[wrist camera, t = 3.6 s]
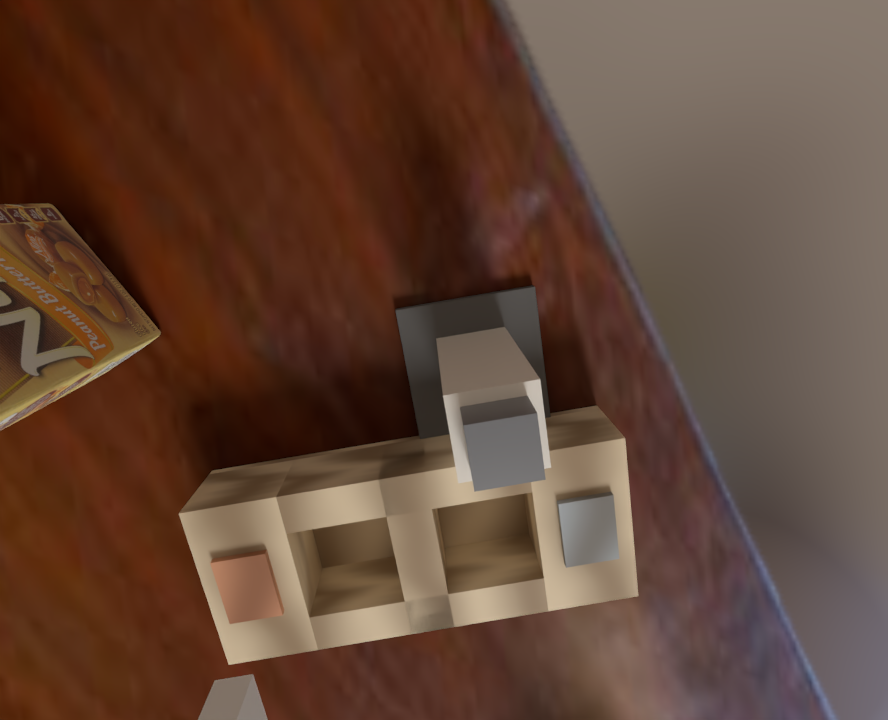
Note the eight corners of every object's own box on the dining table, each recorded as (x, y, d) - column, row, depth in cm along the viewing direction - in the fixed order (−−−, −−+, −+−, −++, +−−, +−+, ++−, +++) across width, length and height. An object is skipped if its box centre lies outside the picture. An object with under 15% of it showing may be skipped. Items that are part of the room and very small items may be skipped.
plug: (447, 403, 34) (461, 507, 22) (436, 338, 33) (445, 413, 21) (513, 391, 34) (562, 490, 22) (504, 326, 33) (551, 395, 21)
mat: (420, 435, 35) (420, 439, 34) (395, 308, 33) (395, 310, 32) (548, 413, 35) (550, 417, 34) (532, 285, 33) (534, 286, 32)
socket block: (253, 605, 38) (226, 670, 32) (212, 470, 35) (175, 517, 30) (610, 545, 37) (640, 600, 32) (596, 405, 35) (627, 441, 30)
